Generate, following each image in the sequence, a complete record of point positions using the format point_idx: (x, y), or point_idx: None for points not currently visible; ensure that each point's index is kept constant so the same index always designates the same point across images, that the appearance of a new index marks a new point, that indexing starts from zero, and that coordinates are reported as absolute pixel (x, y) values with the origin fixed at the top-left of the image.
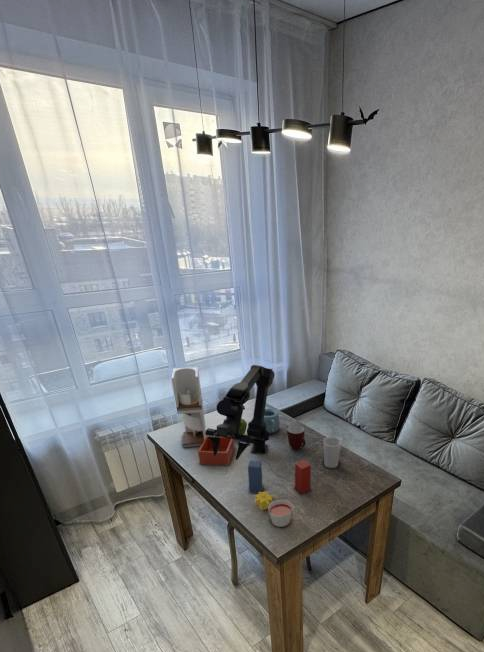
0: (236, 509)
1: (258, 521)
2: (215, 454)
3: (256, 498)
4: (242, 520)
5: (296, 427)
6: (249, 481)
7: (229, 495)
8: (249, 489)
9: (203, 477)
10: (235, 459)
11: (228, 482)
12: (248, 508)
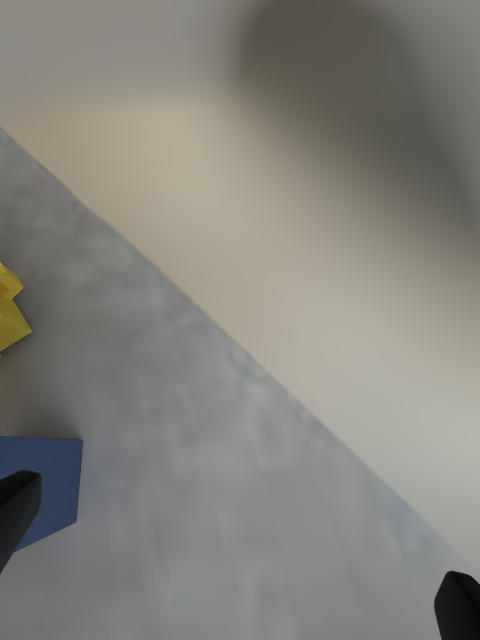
0: (142, 286)
1: (22, 219)
2: (453, 599)
3: (2, 307)
4: (100, 219)
5: None
6: (32, 438)
7: (206, 396)
8: (73, 440)
9: None
10: (37, 473)
11: (248, 540)
12: (78, 299)
